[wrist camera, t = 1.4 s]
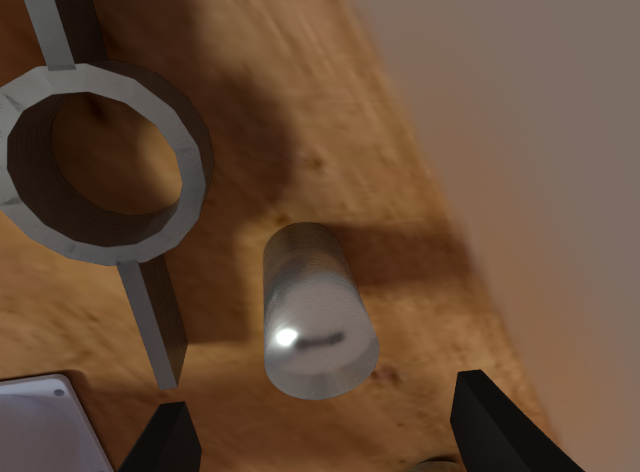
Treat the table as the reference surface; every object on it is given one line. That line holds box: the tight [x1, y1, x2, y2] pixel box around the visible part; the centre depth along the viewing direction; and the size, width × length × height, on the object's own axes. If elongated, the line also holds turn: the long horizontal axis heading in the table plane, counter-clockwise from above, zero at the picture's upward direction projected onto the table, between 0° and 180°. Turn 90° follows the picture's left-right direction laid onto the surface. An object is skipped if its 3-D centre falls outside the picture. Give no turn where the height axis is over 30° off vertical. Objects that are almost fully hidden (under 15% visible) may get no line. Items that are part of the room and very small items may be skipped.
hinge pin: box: [263, 222, 379, 400], centre depth 16 cm, size 4×4×7 cm
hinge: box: [0, 0, 214, 390], centre depth 15 cm, size 21×7×3 cm, turn 3°
